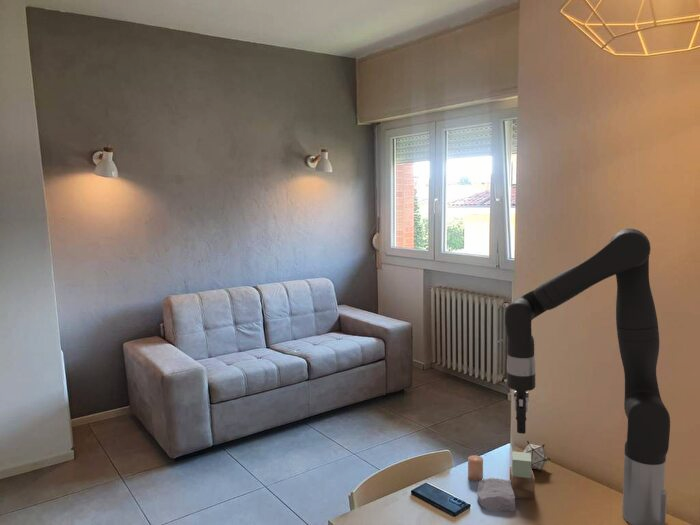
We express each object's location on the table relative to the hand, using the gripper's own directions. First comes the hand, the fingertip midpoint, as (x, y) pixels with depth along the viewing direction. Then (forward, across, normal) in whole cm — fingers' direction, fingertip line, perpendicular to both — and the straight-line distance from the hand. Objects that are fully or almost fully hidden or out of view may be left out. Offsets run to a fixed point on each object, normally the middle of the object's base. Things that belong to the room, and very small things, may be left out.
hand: (521, 426), depth 150 cm
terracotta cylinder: (+20, +5, +13) cm, 24 cm away
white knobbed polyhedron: (+20, +15, -4) cm, 25 cm away
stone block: (+20, -5, +7) cm, 22 cm away
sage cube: (+14, 0, 0) cm, 14 cm away
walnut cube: (+20, 0, 0) cm, 20 cm away
